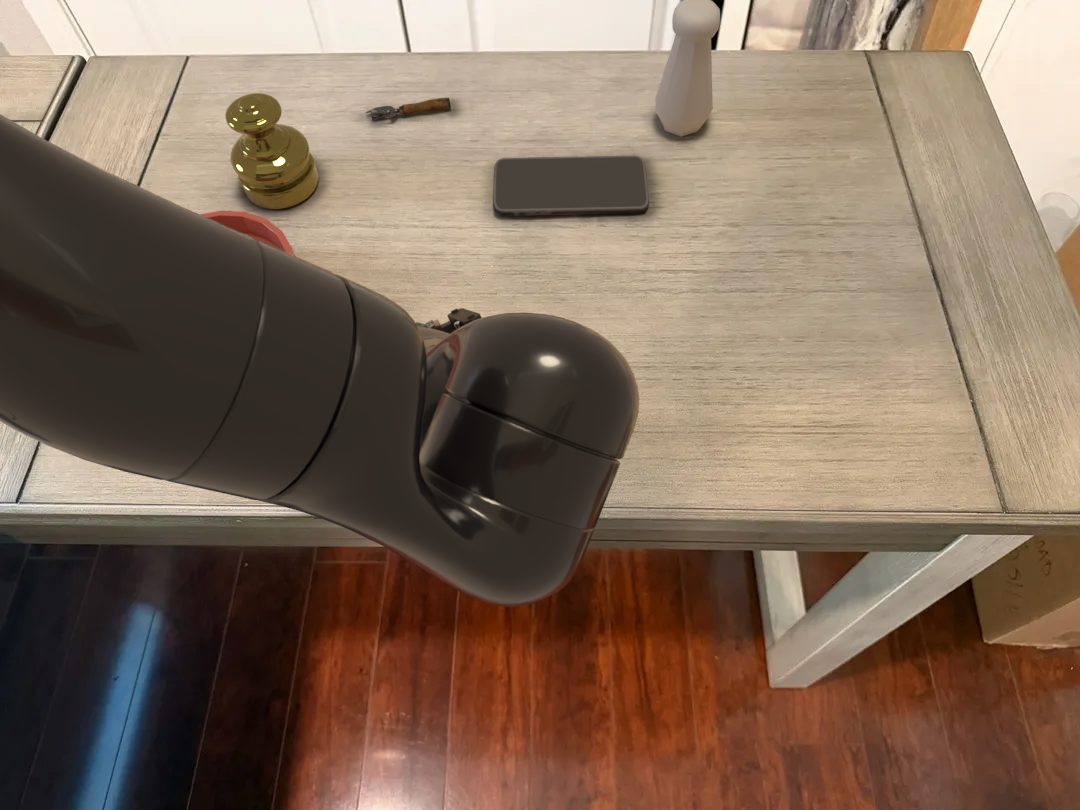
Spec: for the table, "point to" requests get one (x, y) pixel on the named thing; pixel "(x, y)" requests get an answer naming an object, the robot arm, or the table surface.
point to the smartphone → (570, 185)
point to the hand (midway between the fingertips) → (367, 364)
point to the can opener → (412, 108)
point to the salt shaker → (688, 68)
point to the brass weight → (269, 154)
